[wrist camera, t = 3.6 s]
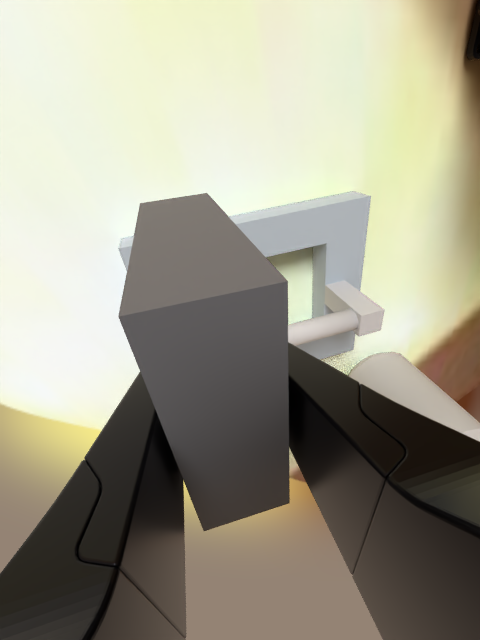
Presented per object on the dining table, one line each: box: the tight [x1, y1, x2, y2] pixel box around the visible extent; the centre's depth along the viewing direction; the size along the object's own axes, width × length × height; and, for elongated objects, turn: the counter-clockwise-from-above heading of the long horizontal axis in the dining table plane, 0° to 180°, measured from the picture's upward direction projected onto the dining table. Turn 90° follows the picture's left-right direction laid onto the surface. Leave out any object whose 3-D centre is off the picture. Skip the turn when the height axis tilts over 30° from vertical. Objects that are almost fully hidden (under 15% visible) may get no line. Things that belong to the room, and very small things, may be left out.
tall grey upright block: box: [119, 193, 289, 531], centre depth 9 cm, size 2×7×8 cm, turn 6°
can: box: [348, 352, 480, 441], centre depth 27 cm, size 8×8×12 cm
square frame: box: [119, 191, 384, 360], centre depth 20 cm, size 16×13×6 cm
